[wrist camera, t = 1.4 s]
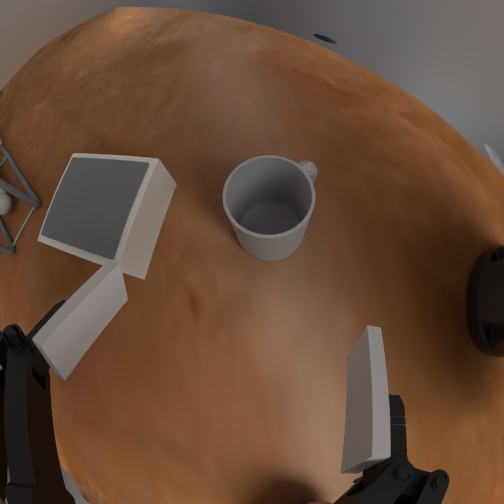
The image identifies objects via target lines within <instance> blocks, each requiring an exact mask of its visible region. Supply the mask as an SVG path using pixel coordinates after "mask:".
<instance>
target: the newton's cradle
mask: <svg viewBox="0 0 504 504" xmlns="http://www.w3.org/2000/svg"><path fill="white" fill-rule="evenodd" d="M0 151H1V152H2V153H3V154H4V155H5V158H4V160H3V161H2V163H1V164H0V167H1V165H2V164H3V162H4V161H5V159H6V158H7V159H8V161H9V163H10V165H11V167H12V168H13V170H14V172H15V174H16V175H17V177H18V179H19V180H20V182H21V184H22V185H23V187H24V188H25V190H26V192H27V193H28V195H29V196H28V195H26V194H25V193H23V192H22V191H20V190H18V189H17V188H15V187H13V186H12V185H10V184H9V183H7V182H6V181H4V180H2V179H1V178H0V215H6V214H7V213H8V212H9V211H10V209H11V206H12V201H11V198H10V197H9V195H7V192H8V193H10V194H12V195H14V196H15V197H17V198H19V199H20V200H22V201H24V202H26V203H27V204H29V205H31V206H33V208H32V210H31V211H30V213H29V215H28V216H27V218H26V220H25V222H24V224H23V225H22V227H21V229H20V231H19V233H18V235H17V237H16V239H15V241H14V243H13V242H12V240H11V238H10V236H9V234H8V232H7V230H6V228H5V226H4V223H3V221H2V219H1V216H0V229H1V231H2V234H3V236H4V238H5V240H6V243H7V245H8V247H9V248H8V247H5V246H3V245H0V252H2V253H5V254H8V255H13V254H14V253H15V246H14V245H15V243H16V241H17V239H18V237H19V235H20V233H21V231H22V230H23V228H24V226H25V224H26V222H27V221H28V219H29V217H30V215H31V214H32V212H33V210H34V209H35V208H38V207H40V206H41V202H40V200H39V198H38V197H37V196H36V194H35V193H34V191H33V190H32V188H31V187H30V185H29V184H28V183H27V181H26V179H25V178H24V176H23V175H22V173H21V172H20V170H19V169H18V167H17V165H16V164H15V162H14V160H13V159H12V157H11V155H10V154H9V152H8V151H7V150H6V149H5V148H4V147H2V146H1V145H0Z"/></svg>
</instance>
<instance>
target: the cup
mask: <svg viewBox="0 0 504 504" xmlns="http://www.w3.org/2000/svg"><path fill="white" fill-rule="evenodd" d="M316 176H317V168H316V166H315V164H314V163H313V162H312V161H308V160H303V161H301V162H299V163H298V164H297V163H295V162H293V161H292V160H290V159H287V158H284V157H281V156H274V155H264V156H257V157H254V158H251V159H249V160H246V161H244V162H243V163H241V164H240V165H239V166H237V167H236V168H235V169H234V170H233V171H232V173H231V174H230V175H229V176H228V178H227V180H226V183H225V185H224V189H223V195H222V197H223V206H224V209H225V211H226V213H227V216H228V218H229V220H230V222H231V225H232V227H233V229H234V231H235V233H236V236H237V238H238V240H239V242H240V244H241V246H242V247H243V248H244V249H245V251H246V252H247V253H248V254H250V255H251V256H253V257H254V258H257V259H259V260H262V261H271V262H272V261H278V260H282V259H284V258H286V257H289V256H290V255H291V254H292V253H294V252H295V251H296V249H297V248H298V247H299V245H300V244H301V242H302V240H303V237H304V234H305V231H306V228H307V225H308V223H309V220H310V217H311V214H312V211H313V208H314V205H315V189H314V183H315V180H316Z"/></svg>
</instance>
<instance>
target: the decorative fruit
mask: <svg viewBox="0 0 504 504" xmlns="http://www.w3.org/2000/svg"><path fill="white" fill-rule="evenodd" d="M306 504H332V503H329V502H324V501H316V502H310V503H306Z"/></svg>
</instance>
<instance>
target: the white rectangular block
mask: <svg viewBox="0 0 504 504" xmlns="http://www.w3.org/2000/svg"><path fill="white" fill-rule="evenodd" d="M176 186H177V184H176V182H175V181H174V179H173V178H172V177H171V175H170V174H169V172H168V171H167V169H166V168H165V167H164V165H163V164H162V162H161V161H160V159H157V158H147V157H135V156H122V155H105V154H81V153H73V155H72V157H71V159H70V161H69V163H68V165H67V167H66V169H65V171H64V173H63V176H62V178H61V180H60V182H59V184H58V187H57V189H56V191H55V194H54V196H53V199H52V201H51V204H50V206H49V209H48V211H47V214H46V217H45V220H44V222H43V225H42V228H41V231H40V234H39V237H38V241H40V242H42V243H45V244H47V245H50V246H52V247H55V248H57V249H60V250H62V251H65V252H67V253H70V254H73V255H75V256H78V257H81V258H83V259H86V260H89V261H91V262H94V263H97V264H100V265H104V264H105V263H106V262H108V261H109V260H110V259H112V260H115V261H118V262H120V263H121V268H122V272H123V273H126V274H129V275H132V276H135V277H138V278H141V279H144V280H145V278H146V274H147V271H148V268H149V264H150V261H151V258H152V254H153V251H154V248H155V245H156V242H157V239H158V236H159V233H160V230H161V227H162V224H163V221H164V218H165V215H166V212H167V210H168V207H169V204H170V201H171V199H172V196H173V193H174V191H175V188H176Z"/></svg>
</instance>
